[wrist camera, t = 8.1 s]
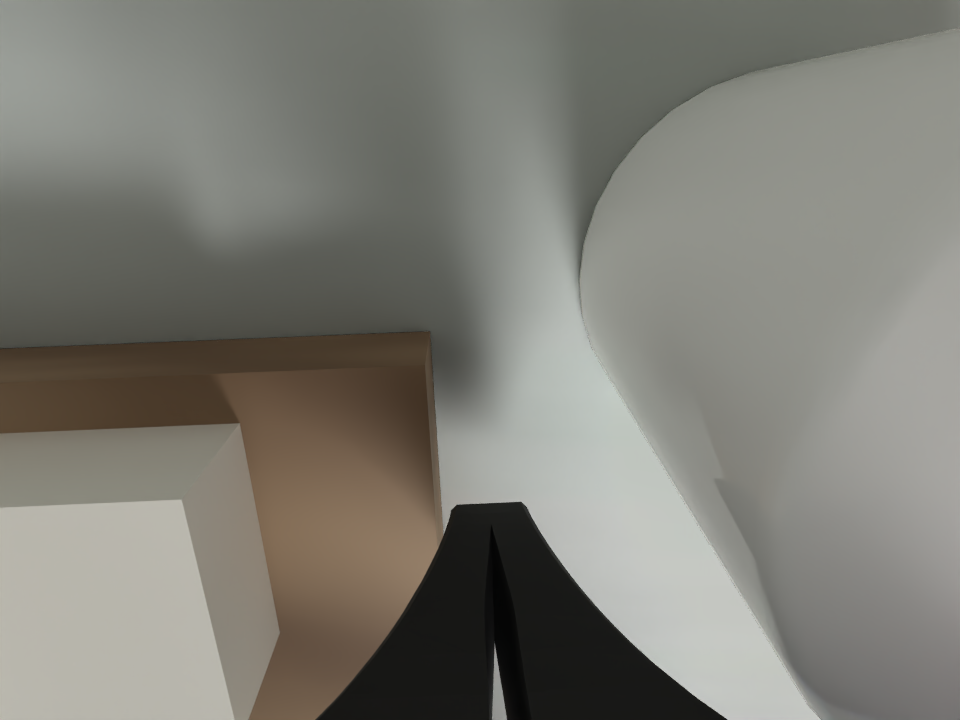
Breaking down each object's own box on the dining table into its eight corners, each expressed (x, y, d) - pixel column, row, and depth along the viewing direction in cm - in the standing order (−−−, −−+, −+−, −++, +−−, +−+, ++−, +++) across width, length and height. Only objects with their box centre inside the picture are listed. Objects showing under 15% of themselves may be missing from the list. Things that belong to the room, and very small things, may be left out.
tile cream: (279, 632, 13) (239, 742, 11) (44, 644, 13) (-49, 757, 11) (240, 423, 11) (181, 499, 9) (-34, 434, 11) (-166, 515, 9)
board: (459, 786, 18) (459, 863, 16) (45, 808, 18) (-5, 889, 16) (430, 331, 13) (424, 364, 11) (-147, 354, 13) (-253, 393, 11)
